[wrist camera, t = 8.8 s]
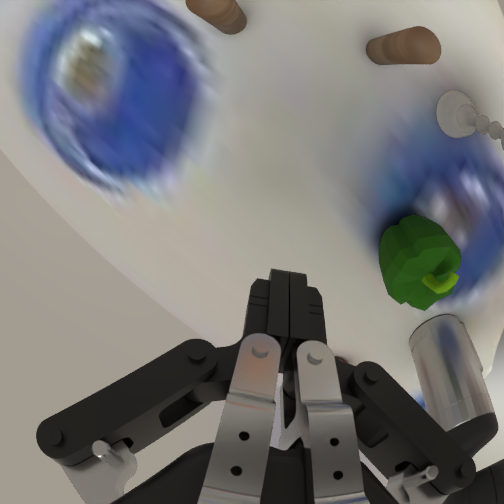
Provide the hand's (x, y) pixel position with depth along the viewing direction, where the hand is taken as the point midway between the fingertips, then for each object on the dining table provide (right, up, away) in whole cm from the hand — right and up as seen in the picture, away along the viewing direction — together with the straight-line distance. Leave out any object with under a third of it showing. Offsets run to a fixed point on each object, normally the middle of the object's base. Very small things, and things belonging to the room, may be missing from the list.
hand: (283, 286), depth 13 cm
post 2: (+10, +19, +6) cm, 22 cm away
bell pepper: (+16, +3, +17) cm, 23 cm away
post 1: (-3, +21, +6) cm, 22 cm away
